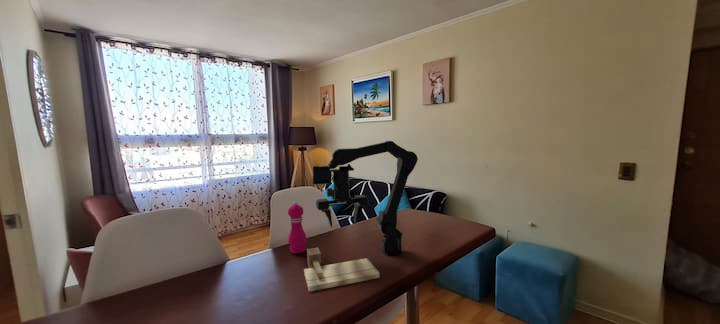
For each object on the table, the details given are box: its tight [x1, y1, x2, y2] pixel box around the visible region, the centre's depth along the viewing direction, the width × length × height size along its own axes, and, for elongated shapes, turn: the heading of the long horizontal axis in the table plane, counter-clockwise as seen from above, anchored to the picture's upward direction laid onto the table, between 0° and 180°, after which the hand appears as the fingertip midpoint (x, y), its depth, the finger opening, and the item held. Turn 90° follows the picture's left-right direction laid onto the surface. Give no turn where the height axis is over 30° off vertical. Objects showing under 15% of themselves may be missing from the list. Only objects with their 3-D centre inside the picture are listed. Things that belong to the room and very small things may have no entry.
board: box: [303, 257, 381, 293], centre depth 92 cm, size 22×12×2 cm, turn 108°
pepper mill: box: [287, 200, 308, 254], centre depth 113 cm, size 7×7×20 cm
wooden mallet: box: [306, 247, 323, 278], centre depth 94 cm, size 4×16×6 cm, turn 17°
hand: (343, 224), depth 106 cm, fingers open, 9 cm apart
